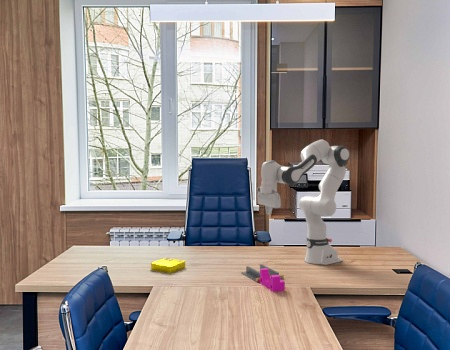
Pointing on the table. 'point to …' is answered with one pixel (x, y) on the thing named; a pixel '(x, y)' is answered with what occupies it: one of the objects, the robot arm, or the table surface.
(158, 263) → the yellow flat square slab
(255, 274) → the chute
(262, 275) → the toy block
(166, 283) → the table surface
